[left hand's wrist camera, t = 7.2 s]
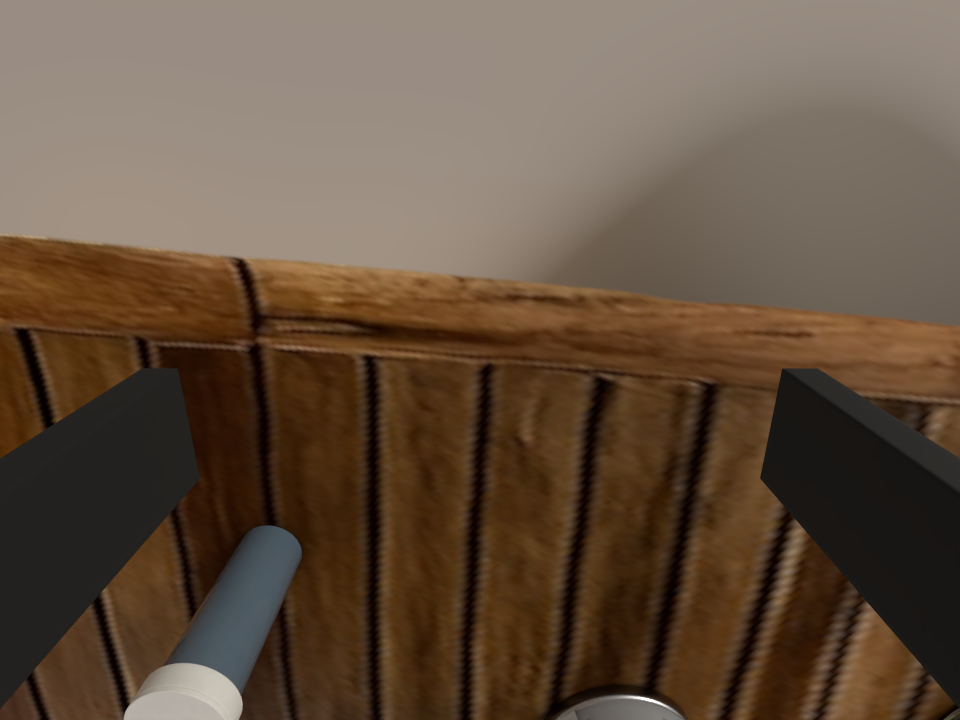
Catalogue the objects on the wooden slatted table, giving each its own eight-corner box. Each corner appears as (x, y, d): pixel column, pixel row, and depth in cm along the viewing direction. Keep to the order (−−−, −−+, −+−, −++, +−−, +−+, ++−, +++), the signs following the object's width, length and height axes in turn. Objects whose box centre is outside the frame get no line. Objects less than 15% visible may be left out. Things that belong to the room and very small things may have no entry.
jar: (293, 582, 49) (215, 762, 34) (234, 565, 48) (129, 740, 34) (309, 535, 47) (233, 704, 33) (247, 517, 46) (143, 680, 32)
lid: (231, 744, 36) (217, 775, 34) (134, 720, 35) (116, 751, 33) (252, 678, 34) (239, 708, 32) (151, 651, 33) (131, 680, 31)
